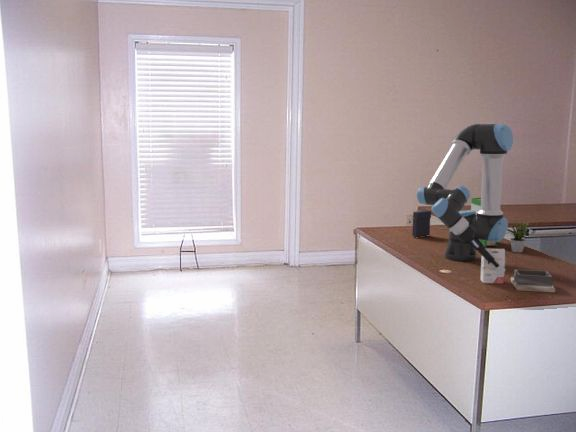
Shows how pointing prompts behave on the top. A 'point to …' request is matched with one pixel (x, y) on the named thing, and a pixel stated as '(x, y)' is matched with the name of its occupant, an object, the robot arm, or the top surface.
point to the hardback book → (476, 207)
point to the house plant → (518, 237)
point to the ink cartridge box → (488, 270)
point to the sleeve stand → (532, 280)
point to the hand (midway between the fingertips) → (502, 269)
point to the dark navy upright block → (421, 223)
